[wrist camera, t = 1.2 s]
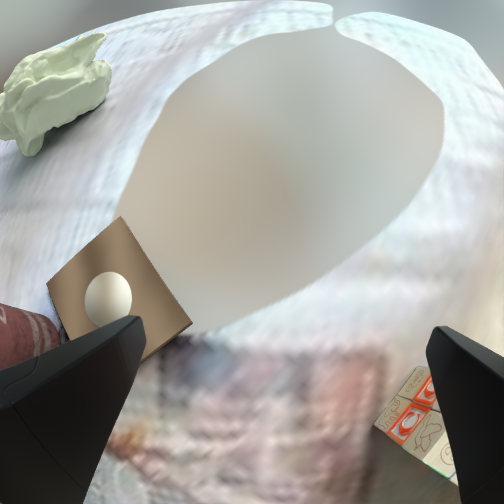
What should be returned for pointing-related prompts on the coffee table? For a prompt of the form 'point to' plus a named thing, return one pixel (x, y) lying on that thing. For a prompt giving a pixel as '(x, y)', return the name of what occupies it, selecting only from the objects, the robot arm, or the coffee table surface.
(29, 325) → the can
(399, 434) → the stack of blocks
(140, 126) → the coffee table surface
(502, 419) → the robot arm
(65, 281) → the socket board
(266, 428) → the coffee table surface
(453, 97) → the coffee table surface
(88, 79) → the wavy plaster lump
